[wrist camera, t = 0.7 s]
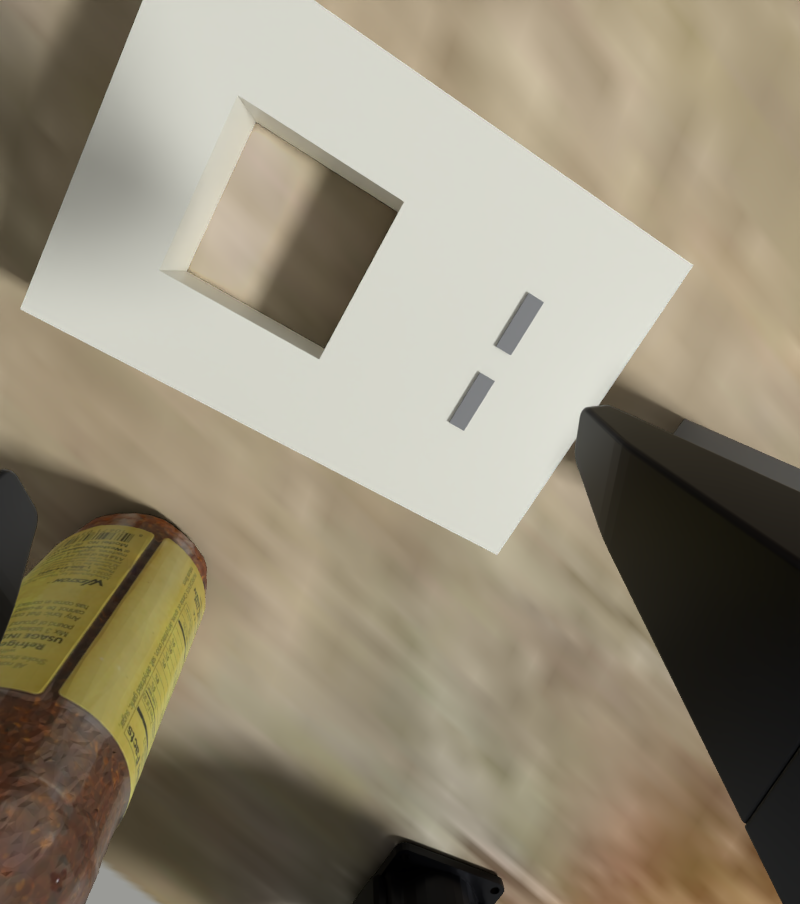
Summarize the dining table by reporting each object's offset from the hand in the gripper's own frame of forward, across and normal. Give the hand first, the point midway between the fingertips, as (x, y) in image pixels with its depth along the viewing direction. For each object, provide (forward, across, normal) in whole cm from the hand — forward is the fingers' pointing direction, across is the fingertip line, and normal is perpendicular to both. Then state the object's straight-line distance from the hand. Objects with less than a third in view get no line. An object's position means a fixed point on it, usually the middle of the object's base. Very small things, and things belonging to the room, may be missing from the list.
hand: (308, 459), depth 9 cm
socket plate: (+13, -1, +2) cm, 14 cm away
